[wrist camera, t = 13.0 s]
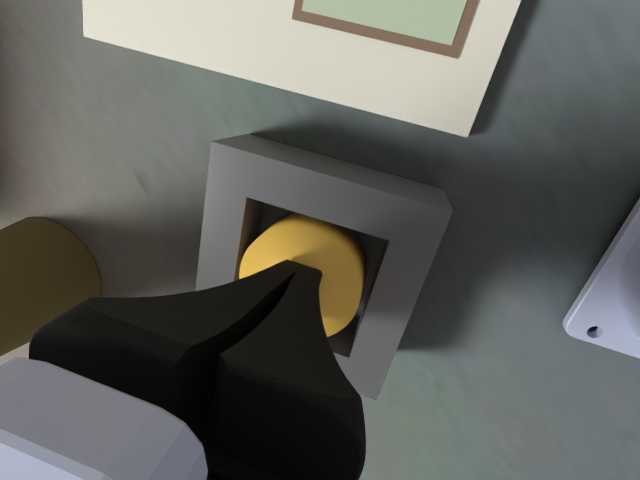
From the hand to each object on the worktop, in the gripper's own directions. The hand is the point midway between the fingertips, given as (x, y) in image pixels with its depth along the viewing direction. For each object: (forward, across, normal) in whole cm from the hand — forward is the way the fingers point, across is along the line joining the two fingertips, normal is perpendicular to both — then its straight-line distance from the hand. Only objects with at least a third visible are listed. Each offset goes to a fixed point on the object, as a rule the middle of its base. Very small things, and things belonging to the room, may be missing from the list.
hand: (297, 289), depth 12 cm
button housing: (+4, 0, 0) cm, 4 cm away
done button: (+2, 0, 0) cm, 2 cm away
